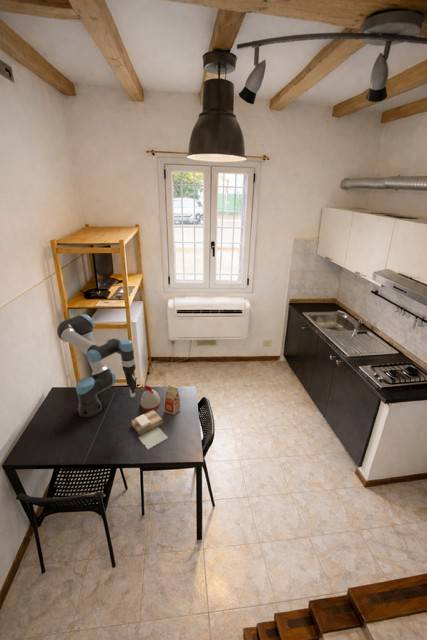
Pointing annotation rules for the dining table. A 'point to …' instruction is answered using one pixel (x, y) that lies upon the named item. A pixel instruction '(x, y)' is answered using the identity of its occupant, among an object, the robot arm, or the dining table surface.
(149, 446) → the mat
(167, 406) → the milk carton
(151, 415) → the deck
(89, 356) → the robot arm
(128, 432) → the dining table surface
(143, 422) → the white flat block
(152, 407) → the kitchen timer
